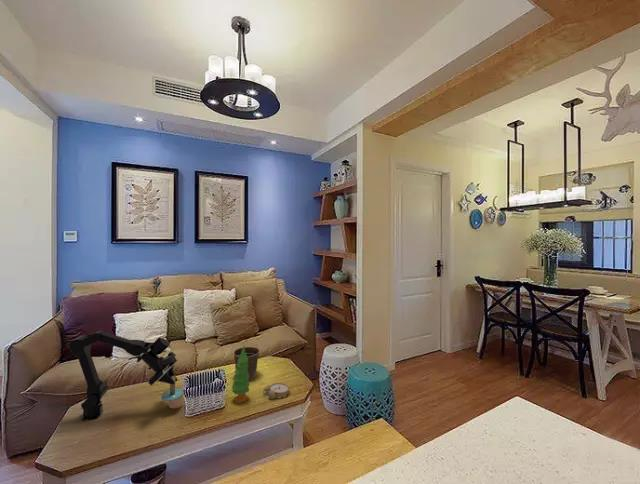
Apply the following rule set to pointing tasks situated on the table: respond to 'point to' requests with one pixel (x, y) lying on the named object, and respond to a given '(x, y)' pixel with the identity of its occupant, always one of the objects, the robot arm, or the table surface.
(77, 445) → the table surface
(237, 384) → the decorative tree
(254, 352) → the plant pot
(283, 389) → the candle holder
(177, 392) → the teal stand with rod
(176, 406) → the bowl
